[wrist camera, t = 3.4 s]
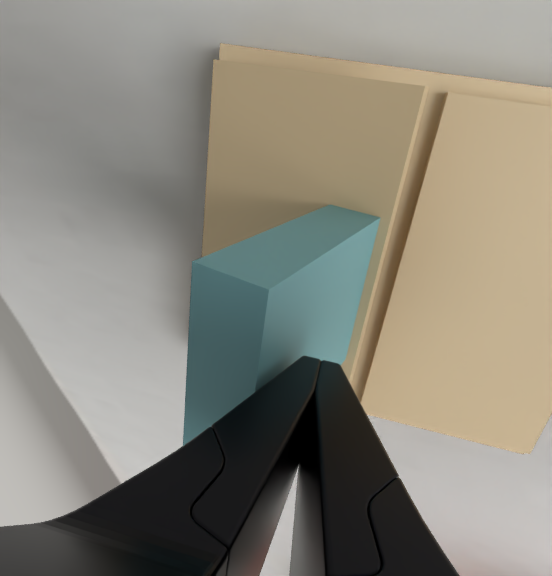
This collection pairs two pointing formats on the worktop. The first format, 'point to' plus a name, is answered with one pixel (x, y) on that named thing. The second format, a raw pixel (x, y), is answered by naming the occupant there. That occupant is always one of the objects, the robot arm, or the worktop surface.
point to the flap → (291, 225)
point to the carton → (460, 260)
